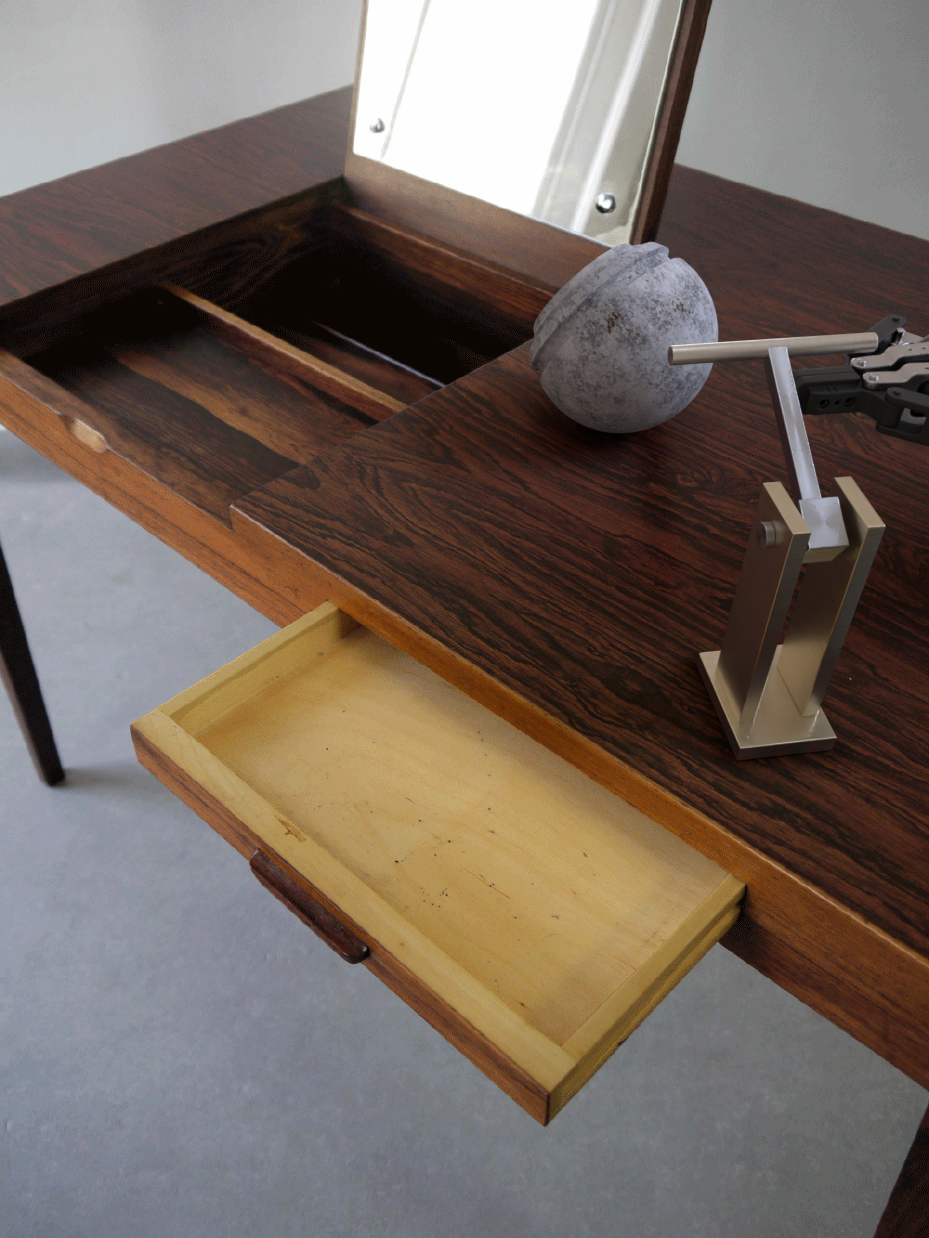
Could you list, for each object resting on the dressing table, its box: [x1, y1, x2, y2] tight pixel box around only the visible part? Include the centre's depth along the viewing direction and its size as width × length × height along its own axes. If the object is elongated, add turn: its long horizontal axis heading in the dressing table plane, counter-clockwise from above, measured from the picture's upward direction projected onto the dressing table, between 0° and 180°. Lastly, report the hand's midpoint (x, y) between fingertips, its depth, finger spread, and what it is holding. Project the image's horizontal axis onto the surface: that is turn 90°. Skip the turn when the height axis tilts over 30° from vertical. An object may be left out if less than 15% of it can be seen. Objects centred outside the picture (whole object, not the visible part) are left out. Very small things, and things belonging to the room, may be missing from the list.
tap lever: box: [667, 332, 878, 564], centre depth 58 cm, size 13×12×2 cm
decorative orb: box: [528, 241, 719, 434], centre depth 84 cm, size 15×14×15 cm
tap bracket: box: [695, 475, 886, 762], centre depth 60 cm, size 8×6×16 cm
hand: (791, 393), depth 61 cm, fingers closed
